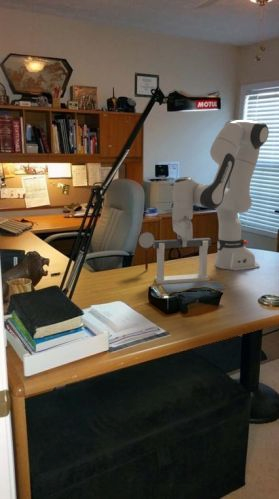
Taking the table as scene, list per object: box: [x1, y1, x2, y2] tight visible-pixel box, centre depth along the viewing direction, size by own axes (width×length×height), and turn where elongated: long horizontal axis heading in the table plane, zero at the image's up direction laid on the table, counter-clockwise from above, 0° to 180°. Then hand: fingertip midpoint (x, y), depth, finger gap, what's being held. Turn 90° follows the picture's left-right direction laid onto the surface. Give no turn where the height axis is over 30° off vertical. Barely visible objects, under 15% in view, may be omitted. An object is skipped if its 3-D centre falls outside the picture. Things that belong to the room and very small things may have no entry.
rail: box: [152, 237, 212, 250], centre depth 181 cm, size 26×3×3 cm, turn 100°
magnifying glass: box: [137, 230, 156, 272], centre depth 198 cm, size 9×2×20 cm, turn 103°
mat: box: [161, 280, 227, 294], centre depth 175 cm, size 26×10×1 cm, turn 100°
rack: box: [154, 241, 210, 285], centre depth 183 cm, size 24×6×18 cm, turn 100°
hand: (182, 245), depth 182 cm, fingers open, 5 cm apart
